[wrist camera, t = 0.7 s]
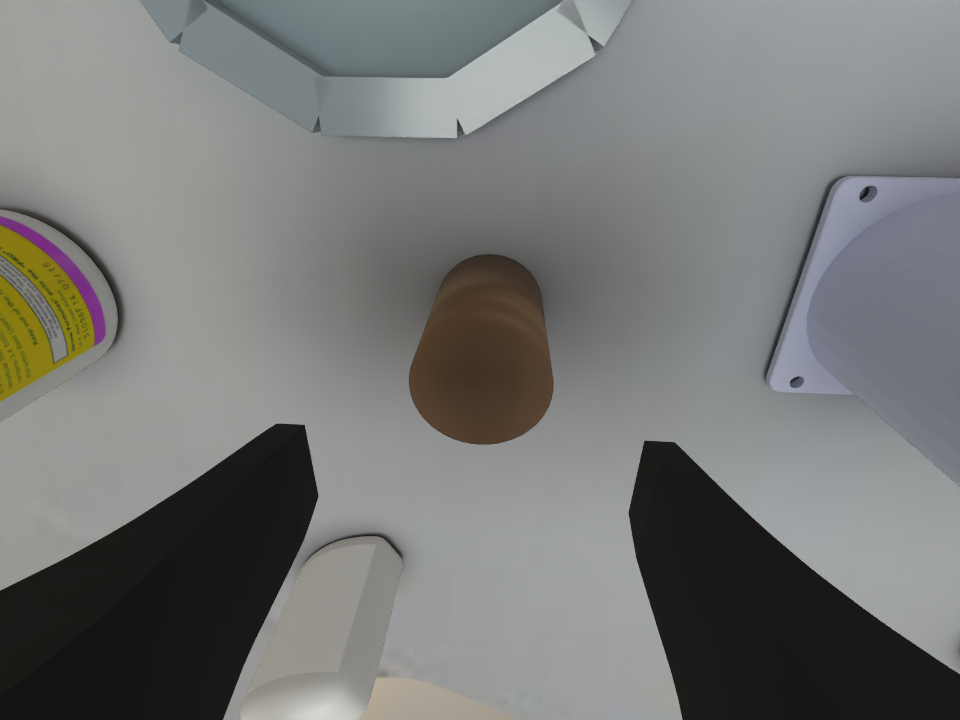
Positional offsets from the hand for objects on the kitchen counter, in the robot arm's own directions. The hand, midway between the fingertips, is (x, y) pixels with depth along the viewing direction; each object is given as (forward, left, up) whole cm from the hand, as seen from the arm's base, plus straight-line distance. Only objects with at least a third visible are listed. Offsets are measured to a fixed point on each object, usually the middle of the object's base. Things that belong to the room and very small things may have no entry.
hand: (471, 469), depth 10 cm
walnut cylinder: (0, 0, -9) cm, 9 cm away
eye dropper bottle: (+7, +15, -10) cm, 19 cm away
